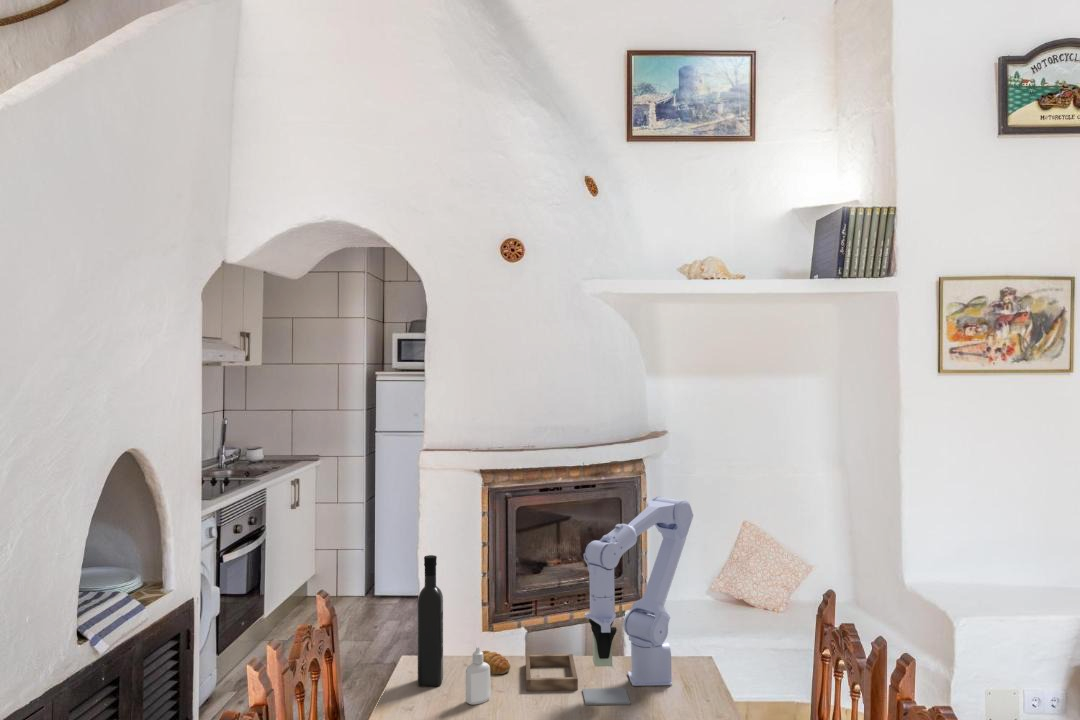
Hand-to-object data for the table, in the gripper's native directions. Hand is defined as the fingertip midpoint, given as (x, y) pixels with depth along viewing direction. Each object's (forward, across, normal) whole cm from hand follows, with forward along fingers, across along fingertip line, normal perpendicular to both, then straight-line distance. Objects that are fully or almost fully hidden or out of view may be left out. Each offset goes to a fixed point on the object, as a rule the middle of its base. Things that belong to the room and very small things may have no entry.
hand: (602, 654), depth 167 cm
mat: (+9, +1, 0) cm, 9 cm away
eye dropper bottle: (+10, +1, -28) cm, 30 cm away
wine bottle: (+10, -10, -41) cm, 43 cm away
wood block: (+2, 0, 0) cm, 2 cm away
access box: (+9, -12, -12) cm, 19 cm away
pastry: (+10, -18, -26) cm, 33 cm away
